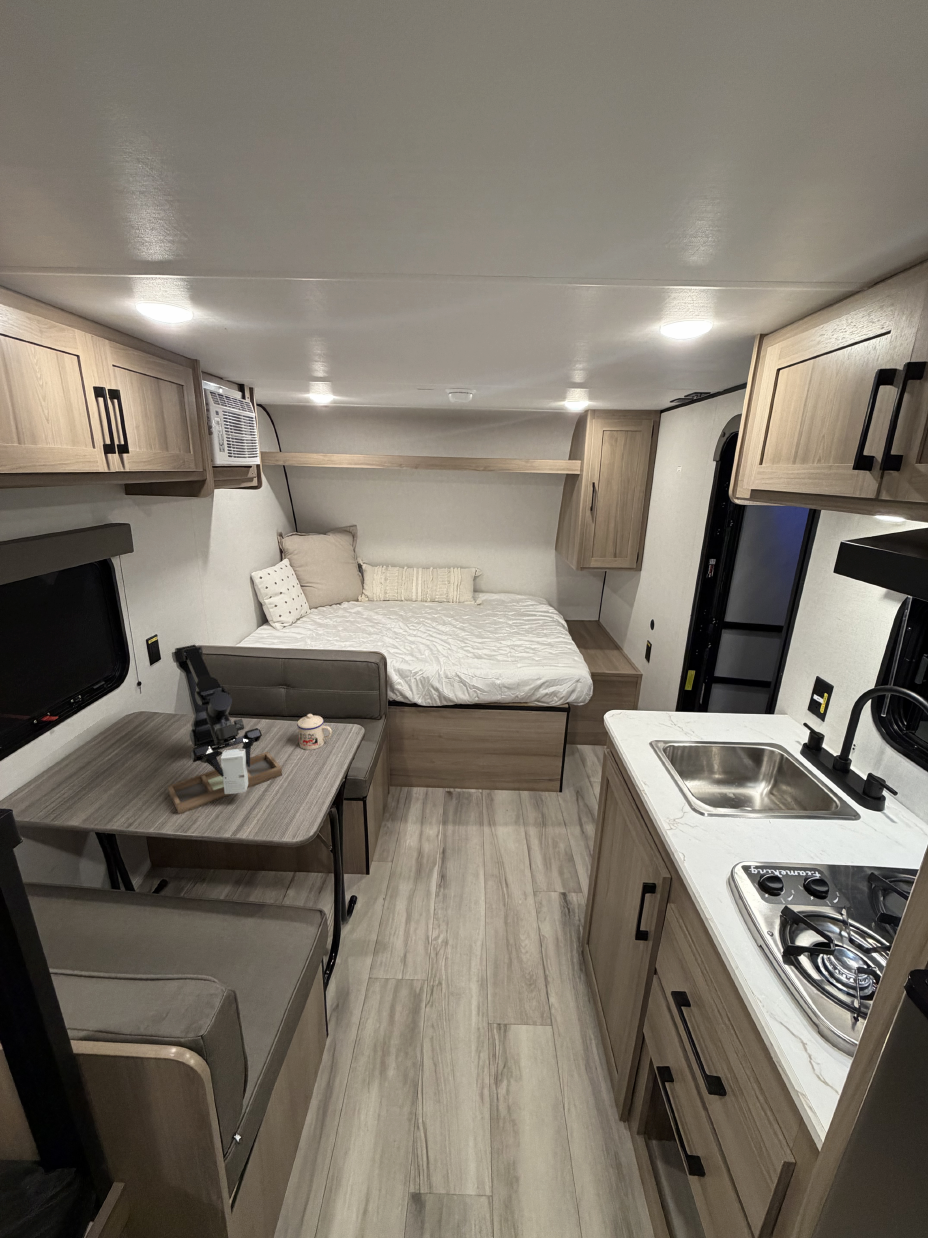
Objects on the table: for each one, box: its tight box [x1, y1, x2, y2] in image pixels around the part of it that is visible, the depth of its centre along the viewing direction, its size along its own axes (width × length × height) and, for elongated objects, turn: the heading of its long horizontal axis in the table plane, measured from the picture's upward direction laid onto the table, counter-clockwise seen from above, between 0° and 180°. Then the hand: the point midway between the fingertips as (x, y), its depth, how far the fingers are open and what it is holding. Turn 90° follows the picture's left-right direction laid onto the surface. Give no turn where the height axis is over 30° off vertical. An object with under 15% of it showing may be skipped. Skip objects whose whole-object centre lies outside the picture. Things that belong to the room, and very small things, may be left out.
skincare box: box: [220, 748, 248, 795], centre depth 147 cm, size 6×4×12 cm
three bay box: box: [167, 751, 283, 815], centre depth 157 cm, size 12×30×3 cm, turn 131°
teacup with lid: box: [296, 713, 333, 751], centre depth 179 cm, size 12×9×12 cm
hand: (236, 771), depth 146 cm, fingers closed on skincare box, 7 cm apart
